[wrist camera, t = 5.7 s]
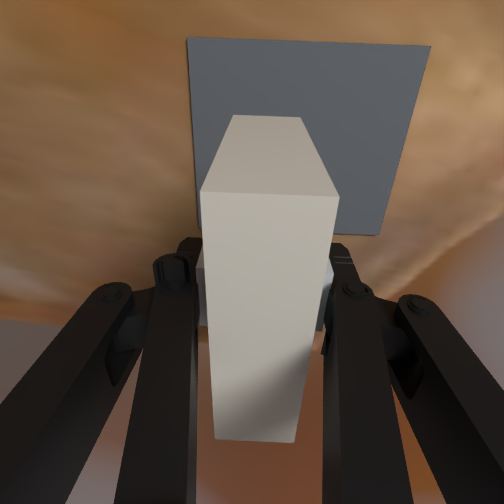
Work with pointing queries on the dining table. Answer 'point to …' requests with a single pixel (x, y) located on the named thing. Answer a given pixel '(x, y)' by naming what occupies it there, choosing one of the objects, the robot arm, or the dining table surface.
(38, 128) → the dining table surface
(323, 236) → the light grey flat block
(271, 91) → the mat
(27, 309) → the dining table surface
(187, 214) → the dining table surface
